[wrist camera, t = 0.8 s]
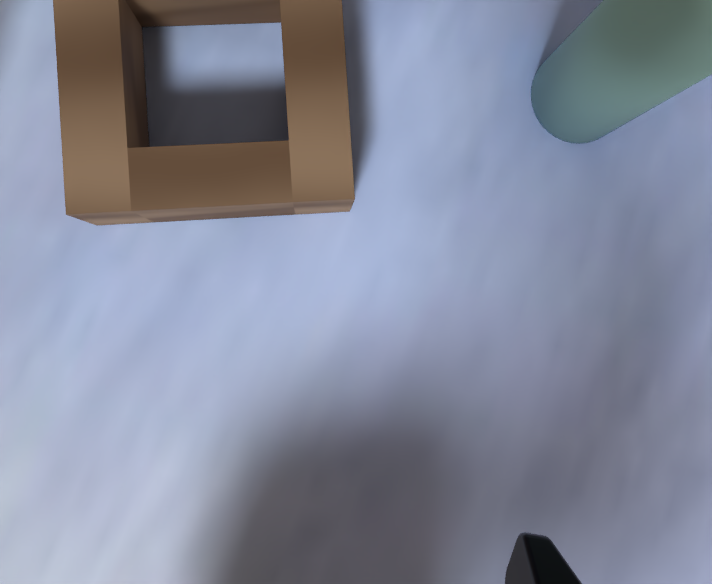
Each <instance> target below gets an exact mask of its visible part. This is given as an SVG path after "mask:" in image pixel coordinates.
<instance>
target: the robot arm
mask: <svg viewBox="0 0 712 584" xmlns="http://www.w3.org/2000/svg"><path fill="white" fill-rule="evenodd" d="M505 584H582V583H581V582H580V580H579V579H578V578H577V576H576V575H575V573H574V572H573V571H572V569H571V568H570V566H569V565H568V564H567V562H566V561H565V559H564V558H563V557H562V555H561V554H560V552H559V551H558V549H557V548H556V547H555V545H554V544H553V542H552V541H551V540H550V539H549V538H548V537H546V536H543V535H537V534H531V533H525V532H524V533H521V534H520V535H519V536H518V538H517V541H516V543H515V546H514V549H513V552H512V555H511V558H510V561H509V564H508V567H507V571H506V577H505Z"/></svg>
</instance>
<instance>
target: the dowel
mask: <svg viewBox="0 0 712 584" xmlns="http://www.w3.org/2000/svg"><path fill="white" fill-rule="evenodd" d="M710 75H712V0H603V1H602V2H601V3H600V4H599V5H598V6H597V7H596V8H595V9H594V10H593V11H592V12H591V13H590V15H589V16H588V17H587V18H586V19H585V20H584V21H583V22H582V23H581V24H580V25H579V26H578V27H577V28H576V29H575V30H574V31H573V32H572V33H571V34H570V35H569V36H568V37H567V38H566V40H565V41H564V42H563V43H562V44H561V45H560V46H559V47H558V48H557V49H556V50H555V51H554V52H553V53H552V54H551V55H550V56H549V57H548V58H547V59H546V60H545V61H544V63H543V64H542V65H541V66H540V67H539V69H538V70H537V72H536V74H535V77H534V79H533V83H532V87H531V101H532V106H533V110H534V113H535V115H536V117H537V119H538V120H539V122H540V124H541V125H542V126H543V127H544V128H545V129H546V130H547V131H548V132H549V133H550V134H552V135H553V136H555V137H556V138H558V139H560V140H563V141H566V142H570V143H588V142H592V141H595V140H597V139H599V138H601V137H603V136H605V135H606V134H608V133H610V132H612V131H613V130H615V129H617V128H619V127H620V126H622V125H624V124H626V123H627V122H629V121H631V120H633V119H634V118H636V117H638V116H640V115H641V114H643V113H645V112H647V111H648V110H650V109H652V108H654V107H655V106H657V105H659V104H661V103H662V102H664V101H666V100H668V99H669V98H671V97H673V96H675V95H676V94H678V93H680V92H682V91H683V90H685V89H687V88H689V87H690V86H692V85H694V84H696V83H698V82H699V81H701V80H703V79H705V78H706V77H708V76H710Z"/></svg>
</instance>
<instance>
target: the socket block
mask: <svg viewBox="0 0 712 584" xmlns="http://www.w3.org/2000/svg"><path fill="white" fill-rule="evenodd" d="M53 6H54V23H55V39H56V56H57V73H58V89H59V106H60V122H61V139H62V156H63V172H64V189H65V205H66V215H69V216H72V217H75V218H77V219H80V220H83V221H86V222H89V223H92V224H95V225H113V224H131V223H149V222H167V221H185V220H203V219H221V218H239V217H258V216H276V215H294V214H312V213H330V212H348V211H350V210H351V207H352V205H353V202H354V200H355V195H354V180H353V165H352V150H351V134H350V119H349V104H348V88H347V73H346V58H345V42H344V27H343V12H342V0H53ZM277 22H281V26H282V42H283V57H284V73H285V88H286V104H287V119H288V135H289V140H287V141H266V142H245V143H223V144H202V145H180V146H159V147H149V134H148V117H147V101H146V85H145V69H144V53H143V37H142V27H156V26H187V25H217V24H247V23H277Z"/></svg>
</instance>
